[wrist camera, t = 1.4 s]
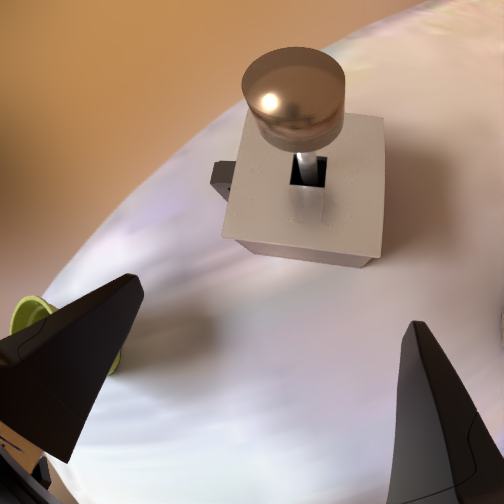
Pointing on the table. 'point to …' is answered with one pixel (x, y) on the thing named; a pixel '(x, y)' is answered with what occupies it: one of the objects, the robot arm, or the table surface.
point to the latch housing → (308, 196)
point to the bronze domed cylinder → (297, 102)
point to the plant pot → (37, 317)
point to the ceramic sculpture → (503, 321)
